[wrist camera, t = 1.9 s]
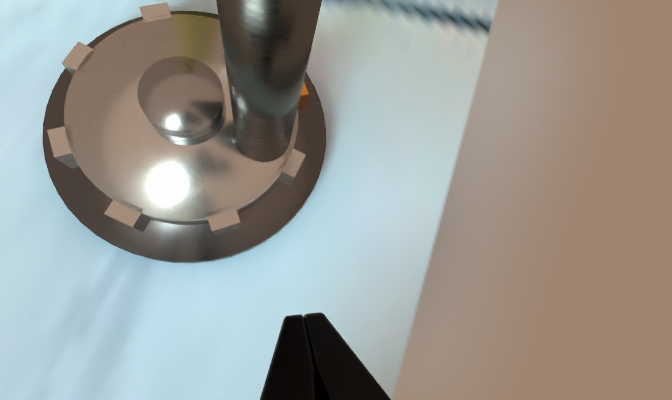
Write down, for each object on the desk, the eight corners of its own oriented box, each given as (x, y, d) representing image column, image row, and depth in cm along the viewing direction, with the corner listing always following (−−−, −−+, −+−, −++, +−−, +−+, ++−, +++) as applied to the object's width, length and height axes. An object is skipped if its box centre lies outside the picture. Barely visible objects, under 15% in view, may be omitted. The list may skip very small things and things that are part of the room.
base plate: (363, 199, 20) (386, 179, 17) (109, 312, 17) (68, 318, 13) (264, -4, 22) (266, -63, 18) (13, 61, 18) (-48, 4, 15)
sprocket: (343, 184, 19) (462, 39, 8) (115, 281, 16) (-191, 262, 5) (255, 0, 20) (253, -339, 9) (29, 59, 17) (-363, -336, 6)
